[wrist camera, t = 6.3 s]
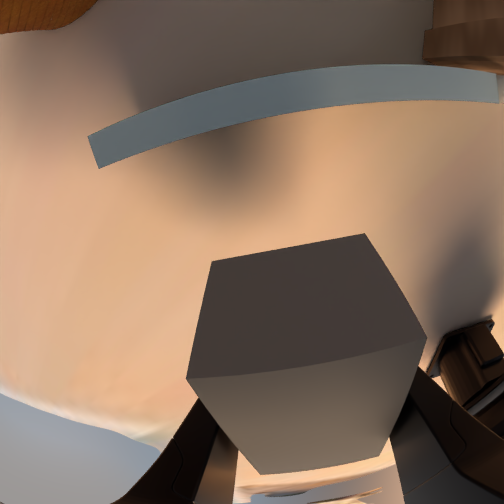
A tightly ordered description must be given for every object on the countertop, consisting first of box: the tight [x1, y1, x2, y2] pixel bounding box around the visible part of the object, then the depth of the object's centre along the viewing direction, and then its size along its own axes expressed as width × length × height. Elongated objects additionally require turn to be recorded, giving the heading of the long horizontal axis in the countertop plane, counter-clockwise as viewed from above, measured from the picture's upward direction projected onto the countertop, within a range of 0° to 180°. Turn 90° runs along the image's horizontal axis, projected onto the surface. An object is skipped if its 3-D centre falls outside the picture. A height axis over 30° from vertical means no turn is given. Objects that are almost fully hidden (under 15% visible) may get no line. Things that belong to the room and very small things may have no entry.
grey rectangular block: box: [186, 233, 427, 475], centre depth 8 cm, size 7×4×4 cm, turn 12°
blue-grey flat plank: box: [88, 64, 504, 169], centre depth 9 cm, size 16×1×6 cm, turn 103°
